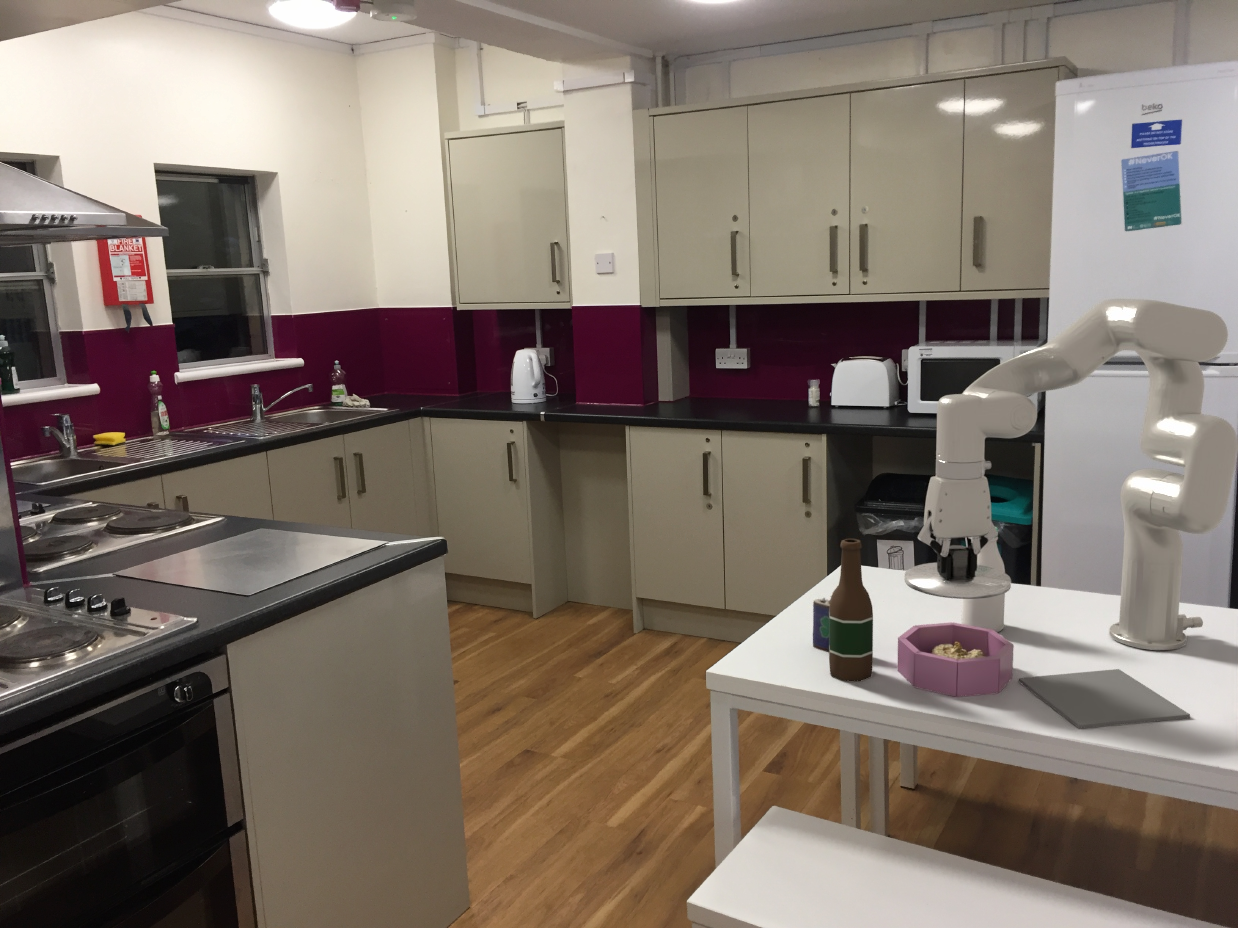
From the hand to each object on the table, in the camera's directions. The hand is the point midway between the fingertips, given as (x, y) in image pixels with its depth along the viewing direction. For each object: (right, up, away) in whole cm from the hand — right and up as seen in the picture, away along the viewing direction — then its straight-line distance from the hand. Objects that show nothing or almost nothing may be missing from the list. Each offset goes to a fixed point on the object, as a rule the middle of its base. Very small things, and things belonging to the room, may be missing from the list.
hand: (956, 575), depth 170 cm
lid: (0, -1, 0) cm, 1 cm away
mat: (+20, -19, -8) cm, 29 cm away
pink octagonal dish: (+1, -17, +3) cm, 18 cm away
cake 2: (+2, -17, +6) cm, 18 cm away
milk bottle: (+13, -13, +25) cm, 31 cm away
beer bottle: (-17, -18, +5) cm, 25 cm away
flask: (-17, -16, +16) cm, 28 cm away
